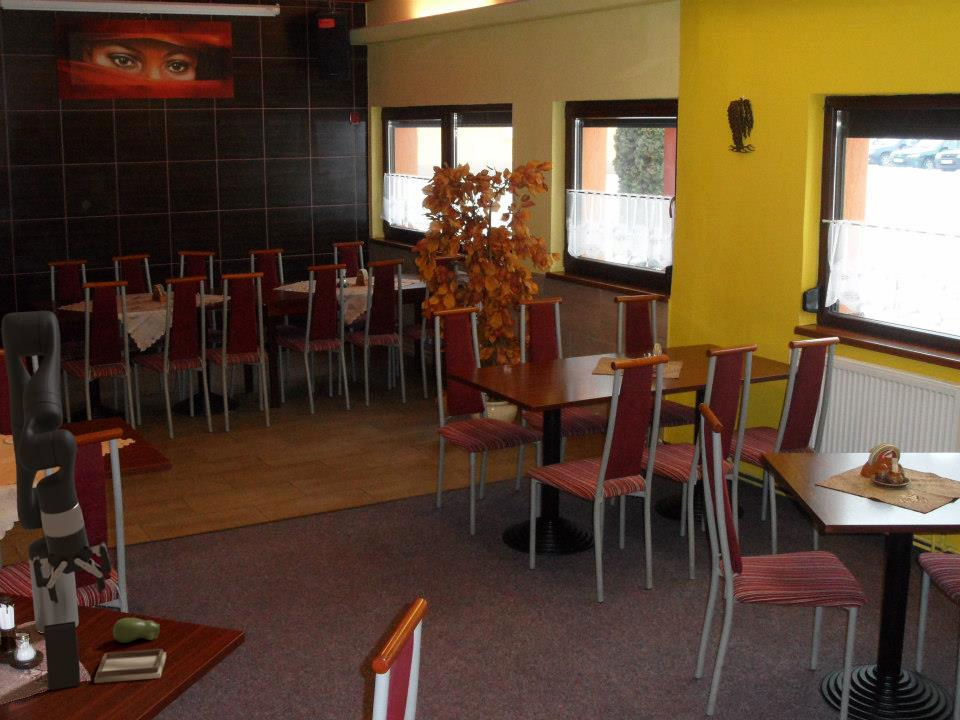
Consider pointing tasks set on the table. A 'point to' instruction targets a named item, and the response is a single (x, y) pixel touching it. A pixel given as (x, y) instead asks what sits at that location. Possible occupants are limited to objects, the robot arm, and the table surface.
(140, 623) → the pear
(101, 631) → the table surface
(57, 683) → the phone stand
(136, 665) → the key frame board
